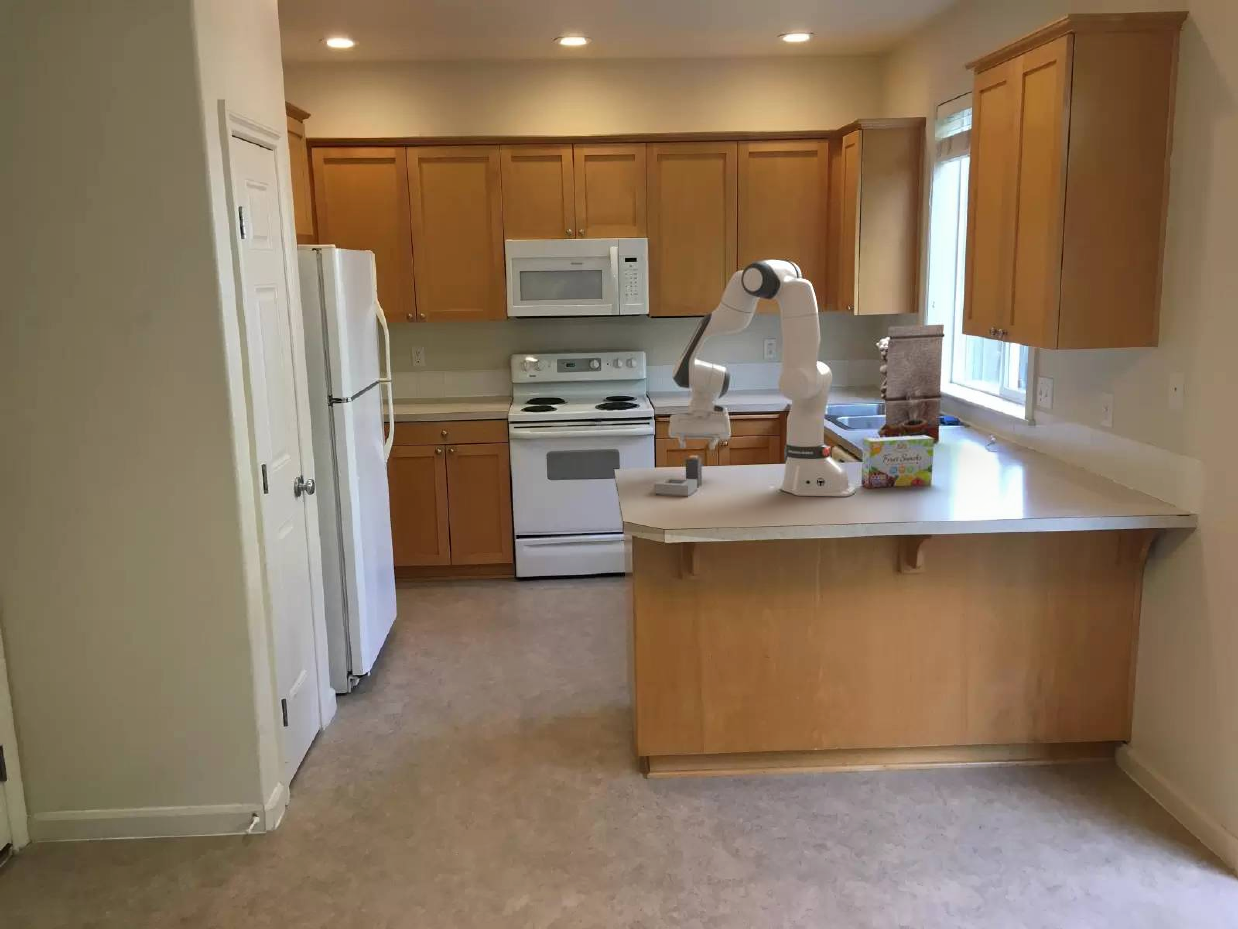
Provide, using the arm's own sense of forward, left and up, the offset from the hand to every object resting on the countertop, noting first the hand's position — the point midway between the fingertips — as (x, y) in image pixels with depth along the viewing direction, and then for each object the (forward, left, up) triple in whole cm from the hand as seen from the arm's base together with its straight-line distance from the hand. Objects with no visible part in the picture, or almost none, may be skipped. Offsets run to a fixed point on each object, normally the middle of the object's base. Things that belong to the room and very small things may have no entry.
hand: (697, 447), depth 303 cm
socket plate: (+1, +18, -11) cm, 21 cm away
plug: (-1, +7, -11) cm, 13 cm away
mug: (-60, -47, -11) cm, 77 cm away
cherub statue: (-54, -91, -11) cm, 106 cm away
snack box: (-61, -12, -11) cm, 63 cm away
